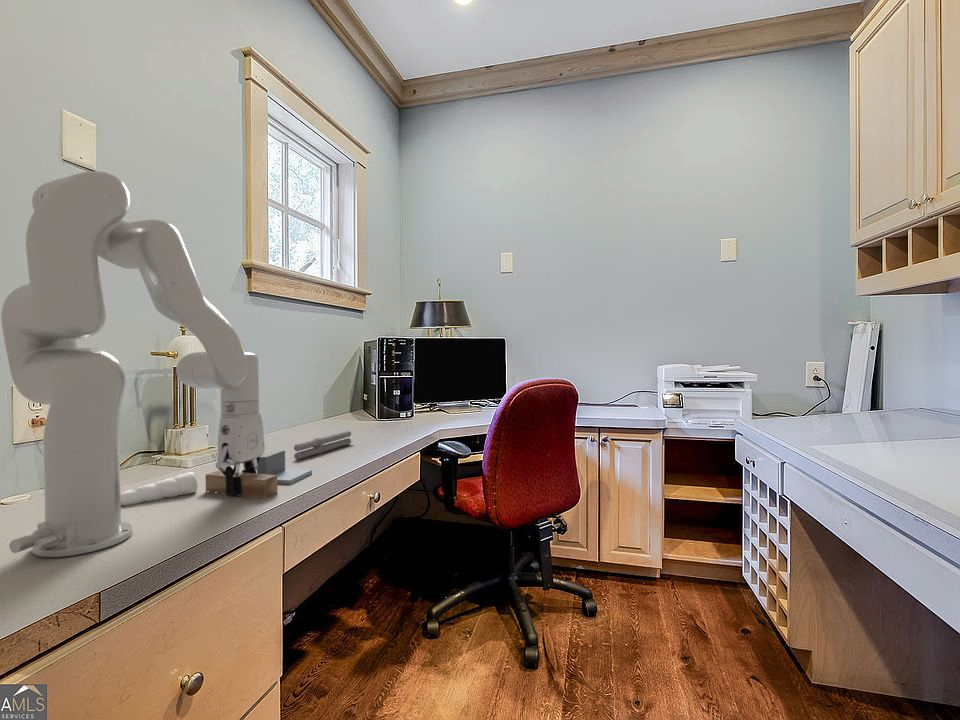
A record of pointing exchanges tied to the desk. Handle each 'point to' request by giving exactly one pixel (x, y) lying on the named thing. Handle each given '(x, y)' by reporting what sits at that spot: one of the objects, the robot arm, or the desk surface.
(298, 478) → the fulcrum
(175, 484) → the unicorn horn
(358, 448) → the desk surface
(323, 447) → the metal rod assembly
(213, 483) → the walnut bar
